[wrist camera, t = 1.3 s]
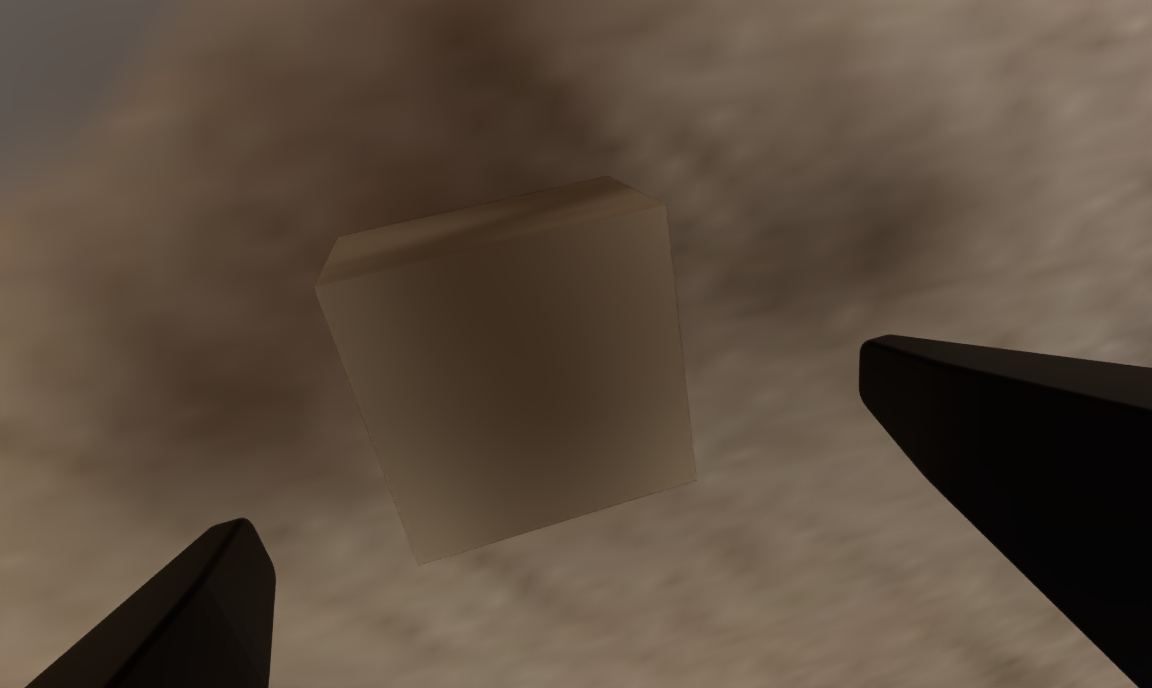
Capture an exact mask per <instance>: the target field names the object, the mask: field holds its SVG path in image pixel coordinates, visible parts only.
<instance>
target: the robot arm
mask: <svg viewBox="0 0 1152 688" xmlns="http://www.w3.org/2000/svg"><path fill="white" fill-rule="evenodd" d="M859 393H860V396H861V399H862V401H863V403H864V404H865V406H866V407H867V408H868V410H869V411H870V412H871V413H872V414H873V416H874V417H875V418H876V419H877V420H878V422H879V423H880V424H881V425H882V426H883V428H884V429H885V430H886V431H887V432H888V434H889V435H890V436H891V437H892V438H893V440H894V441H895V442H896V443H897V444H898V446H899V447H900V448H901V449H902V450H903V452H904V453H905V454H906V455H907V456H908V458H909V459H910V460H911V461H912V462H913V464H914V465H915V466H916V467H917V468H918V469H919V471H920V472H921V473H922V474H923V475H924V476H925V477H926V478H927V479H928V480H929V482H930V483H931V484H932V485H933V486H934V487H935V488H936V489H937V490H938V491H939V492H940V493H941V494H942V495H943V496H944V497H945V498H946V499H947V500H948V501H949V502H950V503H951V504H952V505H953V506H954V507H955V508H957V509H958V510H959V511H960V512H961V513H962V514H963V515H964V516H965V517H966V518H967V519H968V520H969V521H970V522H971V523H972V524H973V525H974V526H975V527H976V528H977V529H978V530H979V531H980V532H981V533H982V534H983V535H984V536H985V537H986V538H987V539H988V540H989V541H990V542H991V543H992V544H993V545H994V546H995V547H996V548H997V549H998V550H999V551H1000V552H1001V553H1002V554H1003V555H1004V556H1005V557H1006V558H1007V559H1008V560H1009V561H1010V562H1011V563H1012V564H1013V565H1014V566H1015V567H1016V568H1018V569H1019V570H1020V571H1021V572H1022V573H1023V574H1024V575H1025V576H1026V577H1027V578H1028V579H1029V580H1030V581H1031V582H1032V583H1033V584H1034V585H1035V586H1036V587H1037V588H1038V589H1039V590H1040V591H1041V592H1042V593H1043V594H1044V595H1045V596H1046V597H1047V598H1048V599H1049V600H1050V601H1051V602H1052V603H1053V604H1054V605H1055V606H1056V607H1057V608H1058V609H1059V610H1060V611H1061V612H1062V613H1063V614H1064V615H1065V616H1066V617H1067V618H1068V619H1069V620H1070V621H1071V622H1072V623H1073V624H1074V625H1075V626H1076V627H1077V628H1079V629H1080V630H1081V631H1082V632H1083V633H1084V634H1085V635H1086V636H1087V637H1088V638H1089V639H1090V640H1091V641H1092V642H1093V643H1094V644H1095V645H1096V646H1097V647H1098V648H1099V649H1100V650H1101V651H1102V652H1103V653H1104V654H1105V655H1106V656H1107V657H1108V658H1109V659H1110V660H1111V661H1112V662H1113V663H1114V664H1115V665H1116V666H1117V667H1118V668H1119V669H1120V670H1121V671H1122V672H1123V673H1124V674H1125V675H1126V676H1127V677H1128V678H1129V679H1130V680H1131V681H1132V682H1133V683H1134V684H1135V685H1136V686H1137V687H1138V688H1152V368H1148V367H1141V366H1133V365H1125V364H1117V363H1109V362H1102V361H1094V360H1086V359H1078V358H1070V357H1062V356H1055V355H1047V354H1039V353H1031V352H1023V351H1016V350H1008V349H1000V348H992V347H984V346H977V345H969V344H961V343H953V342H945V341H938V340H930V339H922V338H914V337H906V336H898V335H884V336H881V337H877V338H874V339H870V340H867V341H865V342H864V343H863V344H862V346H861V348H860V357H859ZM275 586H276V576H275V570H274V566H273V563H272V561H271V559H270V557H269V555H268V553H267V551H266V549H265V547H264V545H263V543H262V541H261V539H260V537H259V536H258V534H257V532H256V530H255V528H254V526H253V524H252V523H251V522H250V521H249V520H248V519H245V518H238V519H235V520H231V521H228V522H224V523H221V524H217V525H214V526H212V527H211V528H209V529H208V530H207V531H206V532H205V533H203V534H202V535H201V536H200V537H199V538H198V539H196V540H195V541H194V542H193V543H192V544H191V545H189V546H188V547H187V548H186V549H185V550H184V551H182V552H181V553H180V554H179V555H178V556H177V557H175V558H174V559H173V560H172V561H171V562H170V563H169V564H167V565H166V566H165V567H164V568H163V569H162V570H160V571H159V572H158V573H157V574H156V575H155V576H153V577H152V578H151V579H150V580H149V581H148V582H146V583H145V584H144V585H143V586H142V587H141V588H140V589H138V590H137V591H136V592H135V593H134V594H133V595H131V596H130V597H129V598H128V599H127V600H126V601H124V602H123V603H122V604H121V605H120V606H119V607H117V608H116V609H115V610H114V611H113V612H112V613H111V614H109V615H108V616H107V617H106V618H105V619H104V620H102V621H101V622H100V623H99V624H98V625H97V626H95V627H94V628H93V629H92V630H91V631H90V632H88V633H87V634H86V635H85V636H84V637H83V638H81V639H80V640H79V641H78V642H77V643H76V644H75V645H73V646H72V647H71V648H70V649H69V650H68V651H66V652H65V653H64V654H63V655H62V656H61V657H59V658H58V659H57V660H56V661H55V662H54V663H52V664H51V665H50V666H49V667H48V668H47V669H46V670H44V671H43V672H42V673H41V674H40V675H39V676H37V677H36V678H35V679H34V680H33V681H32V682H30V683H29V684H28V685H27V686H26V687H25V688H268V686H269V676H270V662H271V647H272V632H273V617H274V601H275Z"/></svg>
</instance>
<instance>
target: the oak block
mask: <svg viewBox="0 0 1152 688" xmlns="http://www.w3.org/2000/svg"><path fill="white" fill-rule="evenodd" d="M314 290H315V292H316V295H317V298H318V300H319V303H320V306H321V308H322V311H323V314H324V316H325V319H326V322H327V324H328V327H329V330H330V332H331V335H332V338H333V340H334V343H335V345H336V348H337V351H338V353H339V356H340V359H341V361H342V364H343V367H344V369H345V372H346V375H347V377H348V380H349V383H350V385H351V388H352V391H353V393H354V396H355V399H356V401H357V404H358V406H359V409H360V412H361V414H362V417H363V420H364V422H365V425H366V428H367V430H368V433H369V436H370V438H371V441H372V444H373V446H374V449H375V452H376V454H377V457H378V459H379V462H380V465H381V467H382V470H383V473H384V475H385V478H386V481H387V483H388V486H389V489H390V491H391V494H392V497H393V499H394V502H395V505H396V507H397V510H398V513H399V515H400V518H401V520H402V523H403V526H404V528H405V531H406V534H407V536H408V539H409V542H410V544H411V547H412V550H413V552H414V555H415V558H416V560H417V563H418V566H419V565H422V564H425V563H429V562H432V561H435V560H439V559H442V558H445V557H448V556H452V555H455V554H458V553H461V552H465V551H468V550H471V549H474V548H478V547H481V546H484V545H488V544H491V543H494V542H497V541H501V540H504V539H507V538H510V537H514V536H517V535H520V534H523V533H527V532H530V531H533V530H536V529H540V528H543V527H546V526H550V525H553V524H556V523H559V522H563V521H566V520H569V519H572V518H576V517H579V516H582V515H585V514H589V513H592V512H595V511H599V510H602V509H605V508H608V507H612V506H615V505H618V504H621V503H625V502H628V501H631V500H634V499H638V498H641V497H644V496H648V495H651V494H654V493H657V492H661V491H664V490H667V489H670V488H674V487H677V486H680V485H683V484H687V483H690V482H693V481H697V479H696V470H695V461H694V452H693V443H692V434H691V425H690V416H689V407H688V398H687V389H686V380H685V371H684V362H683V353H682V344H681V335H680V326H679V317H678V308H677V299H676V290H675V281H674V272H673V263H672V254H671V245H670V236H669V227H668V218H667V209H666V205H665V204H663V203H661V202H659V201H657V200H655V199H653V198H651V197H649V196H647V195H645V194H643V193H641V192H639V191H637V190H635V189H633V188H631V187H629V186H627V185H625V184H623V183H621V182H618V181H616V180H614V179H612V178H610V177H608V176H606V177H602V178H597V179H593V180H588V181H584V182H580V183H575V184H571V185H566V186H562V187H557V188H553V189H548V190H544V191H539V192H535V193H531V194H526V195H522V196H517V197H513V198H508V199H504V200H499V201H495V202H491V203H486V204H482V205H477V206H473V207H468V208H464V209H459V210H455V211H450V212H446V213H442V214H437V215H433V216H428V217H424V218H419V219H415V220H410V221H406V222H401V223H397V224H393V225H388V226H384V227H379V228H375V229H370V230H366V231H361V232H357V233H352V234H348V235H344V236H339V237H338V238H337V240H336V242H335V244H334V246H333V248H332V251H331V253H330V255H329V257H328V259H327V261H326V263H325V265H324V267H323V269H322V271H321V273H320V275H319V278H318V280H317V282H316V284H315V286H314Z"/></svg>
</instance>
